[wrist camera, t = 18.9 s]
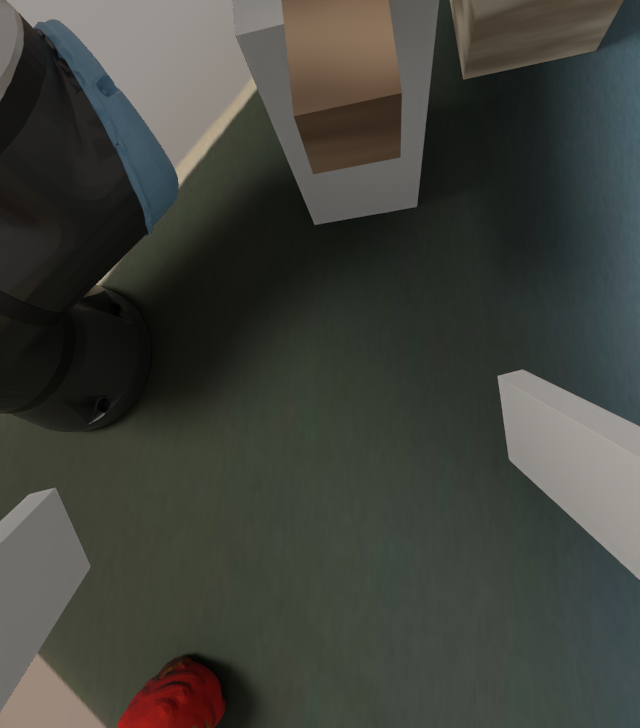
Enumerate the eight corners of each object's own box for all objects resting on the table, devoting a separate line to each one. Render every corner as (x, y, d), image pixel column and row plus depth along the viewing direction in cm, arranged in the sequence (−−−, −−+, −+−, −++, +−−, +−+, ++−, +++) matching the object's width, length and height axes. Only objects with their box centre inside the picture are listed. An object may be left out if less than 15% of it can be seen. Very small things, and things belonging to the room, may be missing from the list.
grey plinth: (417, 206, 42) (440, -16, 20) (314, 225, 43) (235, 35, 22) (403, 112, 43) (412, -192, 22) (304, 132, 45) (220, -131, 23)
